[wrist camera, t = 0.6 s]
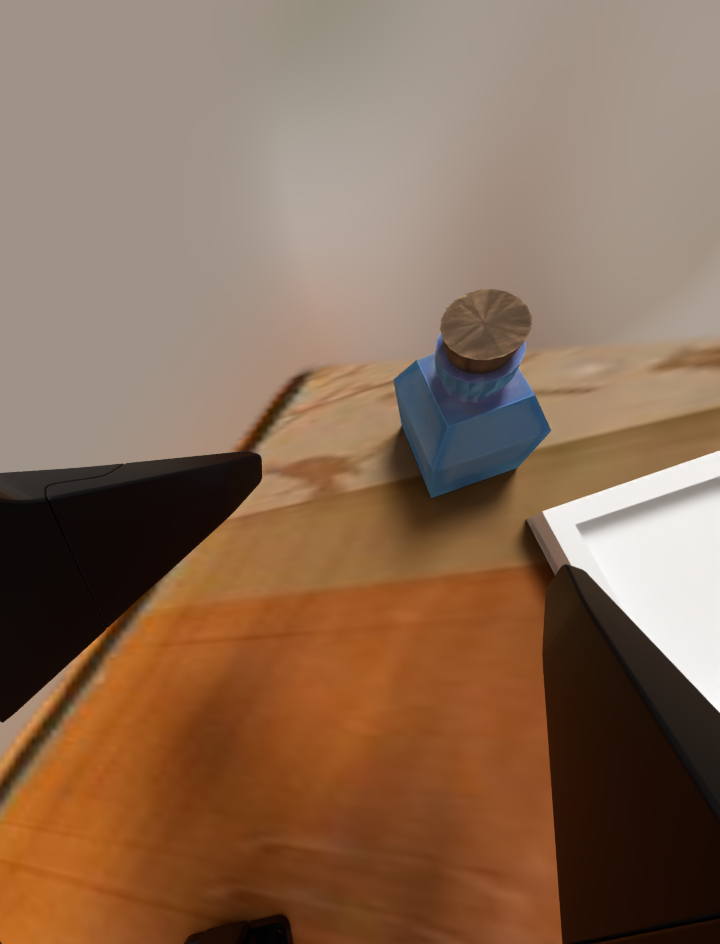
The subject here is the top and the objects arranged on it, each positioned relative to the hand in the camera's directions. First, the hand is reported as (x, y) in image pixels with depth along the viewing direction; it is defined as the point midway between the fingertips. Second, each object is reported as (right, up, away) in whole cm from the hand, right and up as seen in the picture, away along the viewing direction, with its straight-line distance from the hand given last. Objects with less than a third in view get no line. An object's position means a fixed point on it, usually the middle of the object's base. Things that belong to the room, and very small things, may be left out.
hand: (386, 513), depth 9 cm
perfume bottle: (+6, +3, +14) cm, 15 cm away
